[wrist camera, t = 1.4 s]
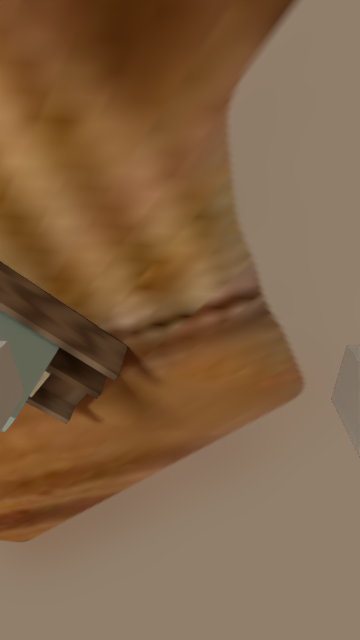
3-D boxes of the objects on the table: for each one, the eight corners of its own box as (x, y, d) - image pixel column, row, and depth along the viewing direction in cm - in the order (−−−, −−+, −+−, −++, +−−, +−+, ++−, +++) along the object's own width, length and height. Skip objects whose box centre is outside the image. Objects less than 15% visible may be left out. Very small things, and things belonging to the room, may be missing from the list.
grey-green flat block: (-5, 296, 42) (-102, 379, 29) (3, 283, 41) (-94, 362, 28) (62, 339, 45) (4, 432, 32) (71, 327, 44) (15, 418, 31)
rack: (-85, 311, 46) (-123, 337, 40) (-47, 230, 40) (-87, 248, 34) (75, 402, 54) (61, 434, 48) (127, 346, 47) (118, 376, 42)
